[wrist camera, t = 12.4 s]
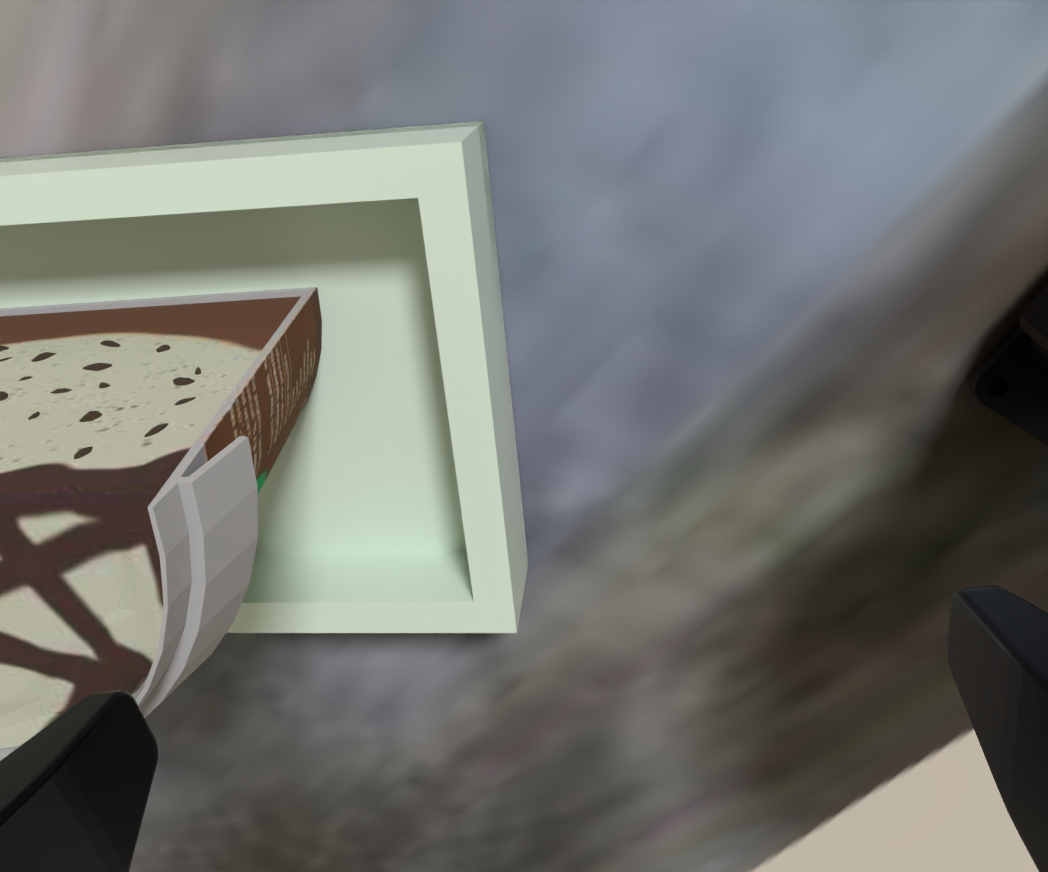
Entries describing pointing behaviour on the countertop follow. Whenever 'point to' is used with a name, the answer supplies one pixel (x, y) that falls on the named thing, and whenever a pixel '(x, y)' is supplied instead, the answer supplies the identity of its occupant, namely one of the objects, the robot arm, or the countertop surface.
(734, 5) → the countertop surface
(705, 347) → the countertop surface
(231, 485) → the food container
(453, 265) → the tray
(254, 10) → the countertop surface
